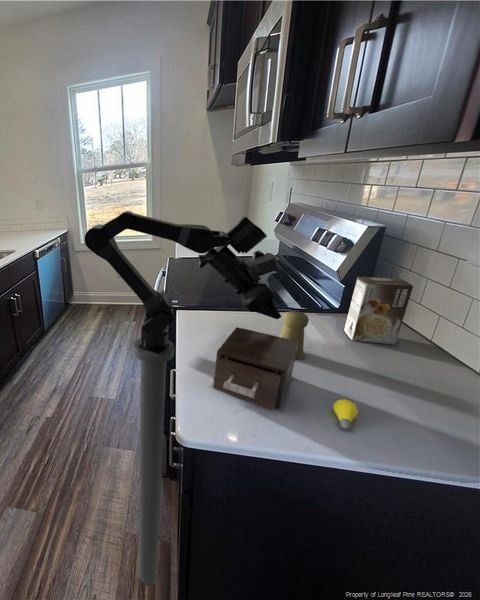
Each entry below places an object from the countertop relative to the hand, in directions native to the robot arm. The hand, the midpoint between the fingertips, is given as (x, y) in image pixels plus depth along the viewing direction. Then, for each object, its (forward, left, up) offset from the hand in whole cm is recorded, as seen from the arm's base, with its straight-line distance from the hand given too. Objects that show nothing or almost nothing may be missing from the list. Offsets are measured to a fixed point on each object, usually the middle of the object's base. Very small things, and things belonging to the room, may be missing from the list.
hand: (273, 310), depth 78 cm
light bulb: (+17, -19, -12) cm, 28 cm away
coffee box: (+20, +22, -12) cm, 32 cm away
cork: (+5, +2, -12) cm, 13 cm away
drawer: (+1, -20, -11) cm, 23 cm away
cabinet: (+1, -16, -12) cm, 20 cm away
